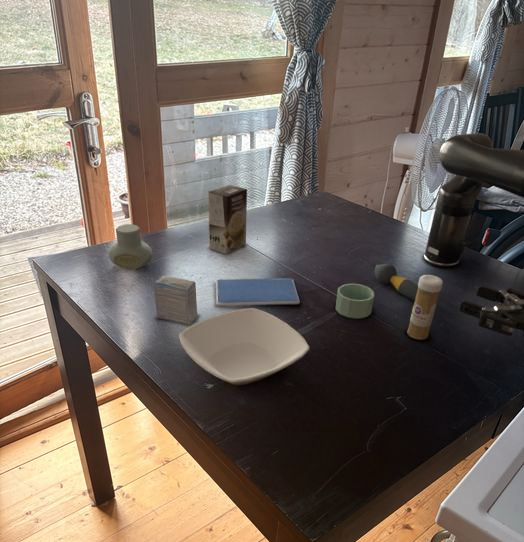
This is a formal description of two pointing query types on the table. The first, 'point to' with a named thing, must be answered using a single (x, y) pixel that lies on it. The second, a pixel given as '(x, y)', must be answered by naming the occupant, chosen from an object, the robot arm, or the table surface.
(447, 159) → the robot arm
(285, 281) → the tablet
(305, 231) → the table surface
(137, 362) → the table surface
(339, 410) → the table surface
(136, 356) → the table surface
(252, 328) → the bowl
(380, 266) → the paintbrush
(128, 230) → the air freshener
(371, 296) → the bracelet
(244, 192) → the coffee box
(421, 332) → the sprinkles bottle
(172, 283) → the medicine box
